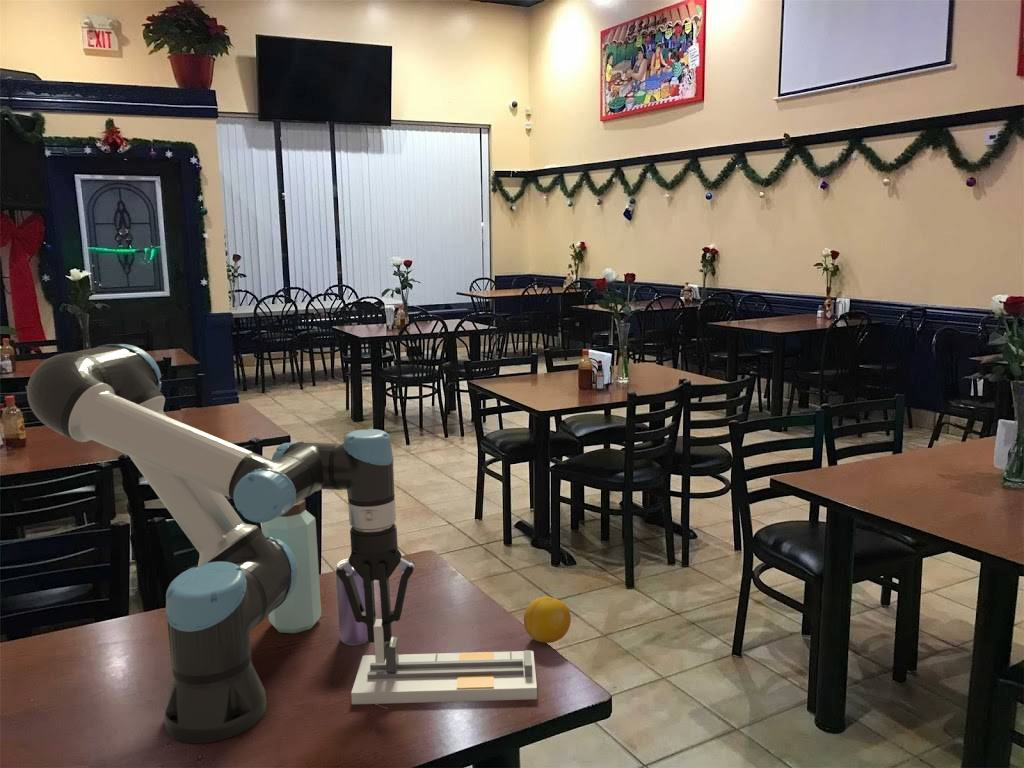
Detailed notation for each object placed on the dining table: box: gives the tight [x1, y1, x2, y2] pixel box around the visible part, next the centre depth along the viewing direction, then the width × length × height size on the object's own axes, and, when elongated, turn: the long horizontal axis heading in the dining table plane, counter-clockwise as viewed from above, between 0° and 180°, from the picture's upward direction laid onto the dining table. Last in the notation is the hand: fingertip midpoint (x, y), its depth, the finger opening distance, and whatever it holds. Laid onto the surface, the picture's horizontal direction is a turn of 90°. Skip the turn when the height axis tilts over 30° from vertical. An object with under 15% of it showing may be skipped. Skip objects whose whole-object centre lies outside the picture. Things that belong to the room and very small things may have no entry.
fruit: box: [523, 595, 572, 644], centre depth 150 cm, size 9×8×8 cm
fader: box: [385, 636, 399, 672], centre depth 136 cm, size 2×4×6 cm, turn 1°
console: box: [350, 649, 538, 705], centre depth 137 cm, size 30×12×4 cm, turn 91°
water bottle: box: [261, 499, 322, 634], centre depth 157 cm, size 10×10×25 cm
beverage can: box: [335, 558, 369, 647], centre depth 151 cm, size 6×6×15 cm
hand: (381, 658), depth 136 cm, fingers closed
